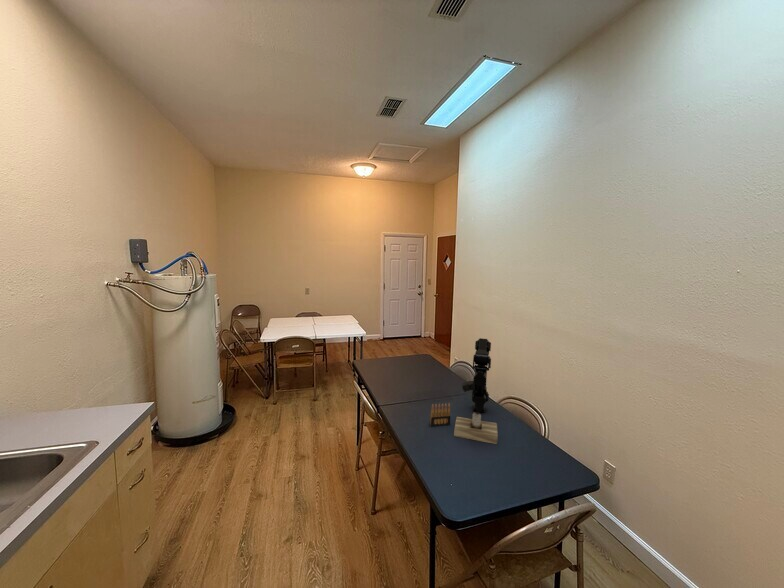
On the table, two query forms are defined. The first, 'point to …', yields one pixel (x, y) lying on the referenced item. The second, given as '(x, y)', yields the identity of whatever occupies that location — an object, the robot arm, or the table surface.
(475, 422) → the metal peg
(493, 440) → the hole block
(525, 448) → the table surface
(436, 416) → the ammunition clip
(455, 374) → the table surface
